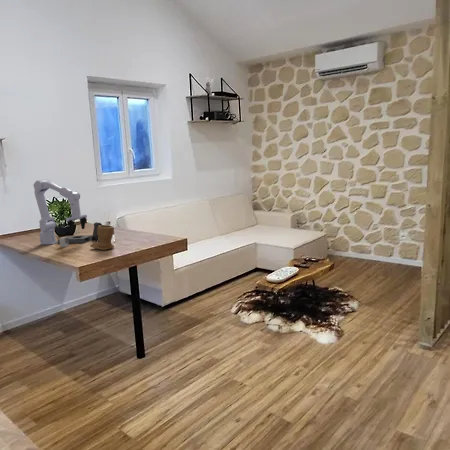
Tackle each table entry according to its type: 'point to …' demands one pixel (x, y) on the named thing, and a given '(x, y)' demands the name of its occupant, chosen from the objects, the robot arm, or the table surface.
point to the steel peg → (64, 241)
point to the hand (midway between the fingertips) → (78, 230)
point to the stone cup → (104, 237)
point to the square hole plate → (78, 239)
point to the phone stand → (95, 232)
